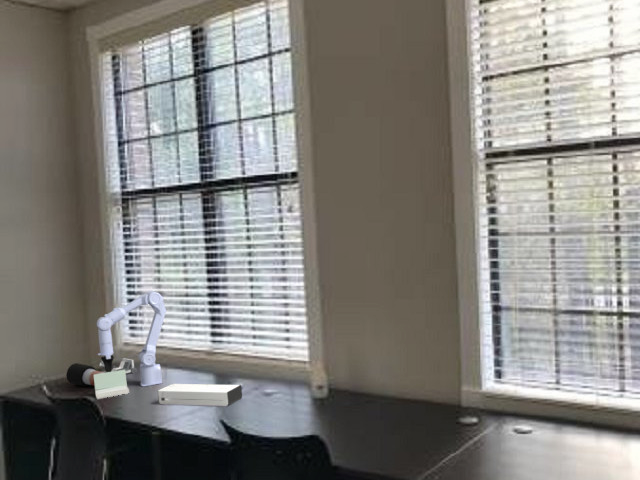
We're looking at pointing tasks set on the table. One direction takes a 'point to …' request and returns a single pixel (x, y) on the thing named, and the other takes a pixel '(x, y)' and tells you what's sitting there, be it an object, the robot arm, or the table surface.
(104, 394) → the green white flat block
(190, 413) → the table surface
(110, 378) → the cover
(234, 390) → the laminator
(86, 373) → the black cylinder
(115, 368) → the phone holder
